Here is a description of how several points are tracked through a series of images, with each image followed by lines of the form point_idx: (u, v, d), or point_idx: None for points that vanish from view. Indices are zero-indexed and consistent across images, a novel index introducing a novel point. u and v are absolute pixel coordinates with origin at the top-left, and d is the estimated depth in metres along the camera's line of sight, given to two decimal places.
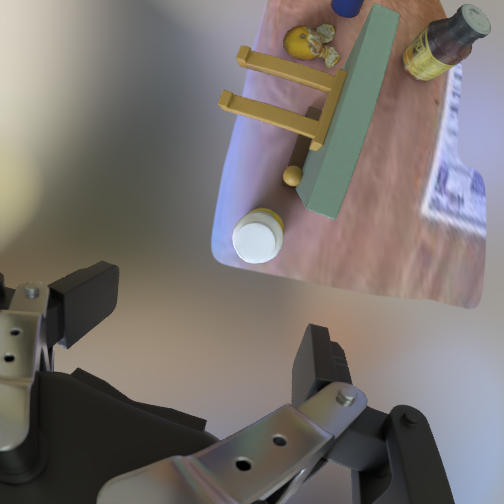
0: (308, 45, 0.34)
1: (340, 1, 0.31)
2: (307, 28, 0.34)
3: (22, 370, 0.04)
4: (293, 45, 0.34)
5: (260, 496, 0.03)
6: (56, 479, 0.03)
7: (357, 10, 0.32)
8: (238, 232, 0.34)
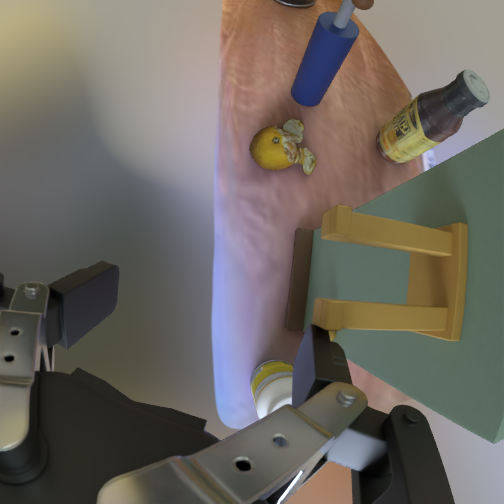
0: (284, 151, 0.34)
1: (307, 87, 0.34)
2: (277, 129, 0.35)
3: (22, 370, 0.04)
4: (267, 154, 0.34)
5: (260, 496, 0.03)
6: (56, 479, 0.03)
7: (323, 95, 0.37)
8: None
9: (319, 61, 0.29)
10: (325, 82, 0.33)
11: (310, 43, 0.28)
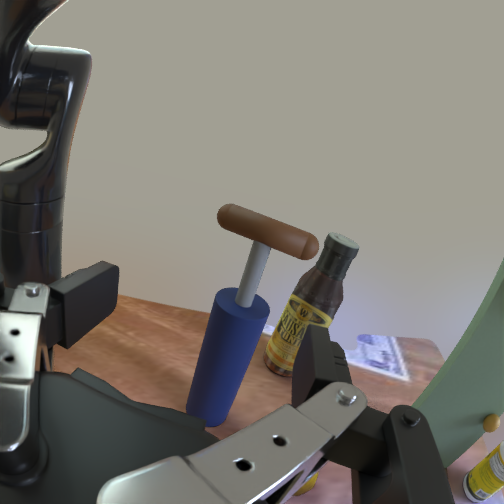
0: None
1: (230, 402, 0.27)
2: None
3: (22, 370, 0.04)
4: None
5: (260, 496, 0.03)
6: (56, 479, 0.03)
7: None
8: None
9: (246, 363, 0.25)
10: None
11: (226, 354, 0.24)
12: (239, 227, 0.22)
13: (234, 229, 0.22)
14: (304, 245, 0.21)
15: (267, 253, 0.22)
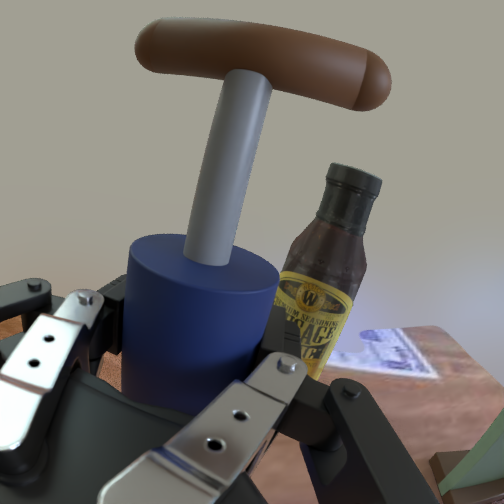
0: None
1: None
2: None
3: (43, 378, 0.04)
4: None
5: (240, 471, 0.04)
6: (56, 479, 0.03)
7: None
8: None
9: None
10: None
11: (178, 403, 0.08)
12: (188, 40, 0.07)
13: (175, 50, 0.07)
14: (365, 61, 0.06)
15: (265, 99, 0.07)
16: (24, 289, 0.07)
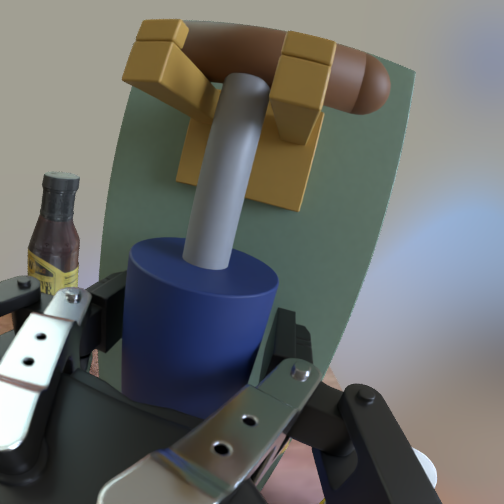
0: None
1: None
2: None
3: (38, 376, 0.04)
4: None
5: (245, 476, 0.04)
6: (56, 479, 0.03)
7: None
8: None
9: None
10: None
11: (178, 406, 0.08)
12: (187, 43, 0.07)
13: None
14: (364, 65, 0.06)
15: (263, 103, 0.08)
16: (14, 287, 0.07)
